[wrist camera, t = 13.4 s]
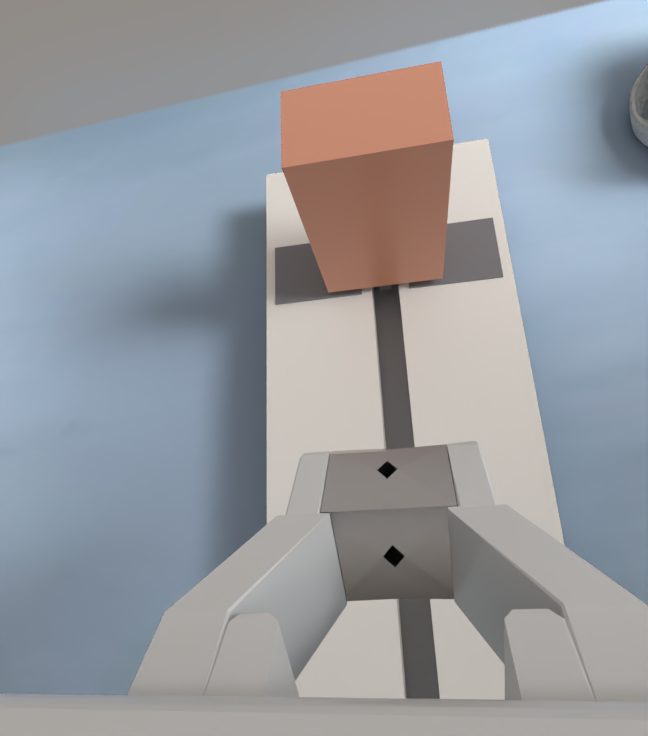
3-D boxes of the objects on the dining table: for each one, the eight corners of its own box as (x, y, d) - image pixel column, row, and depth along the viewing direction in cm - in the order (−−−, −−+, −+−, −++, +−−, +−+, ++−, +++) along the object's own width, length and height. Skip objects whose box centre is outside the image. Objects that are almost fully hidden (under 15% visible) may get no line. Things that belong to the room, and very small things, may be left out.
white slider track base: (481, 180, 27) (488, 136, 24) (625, 994, 16) (669, 1092, 13) (281, 210, 29) (265, 173, 26) (291, 963, 18) (265, 1044, 15)
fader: (434, 241, 24) (441, 61, 15) (441, 297, 23) (453, 139, 14) (332, 255, 25) (280, 91, 16) (334, 310, 24) (281, 168, 15)
